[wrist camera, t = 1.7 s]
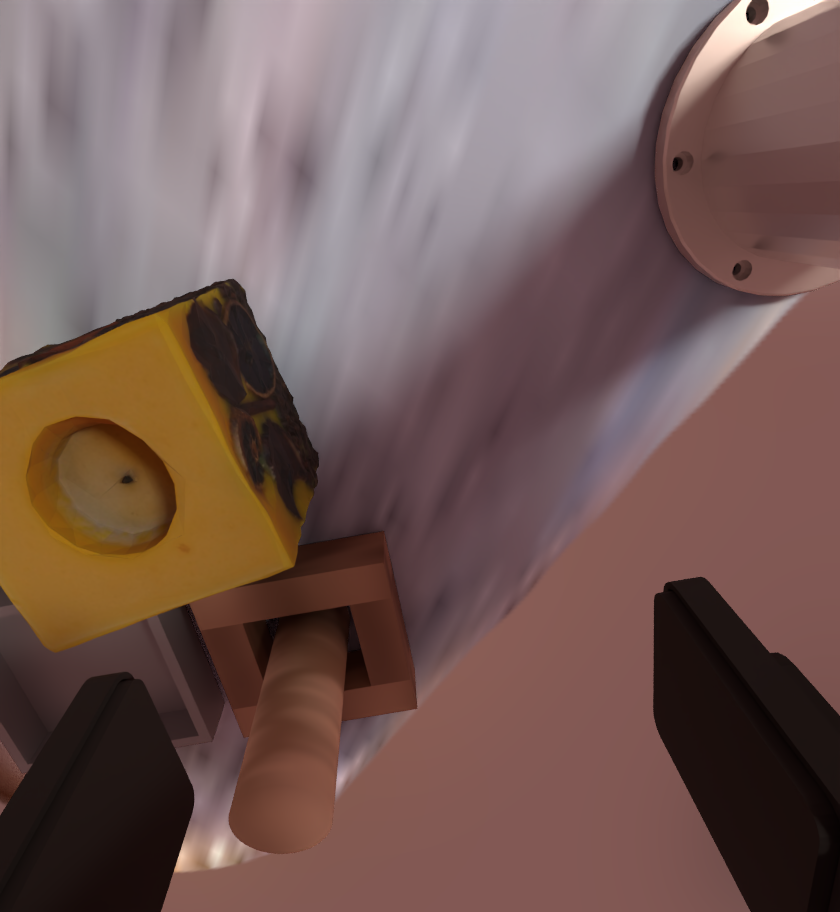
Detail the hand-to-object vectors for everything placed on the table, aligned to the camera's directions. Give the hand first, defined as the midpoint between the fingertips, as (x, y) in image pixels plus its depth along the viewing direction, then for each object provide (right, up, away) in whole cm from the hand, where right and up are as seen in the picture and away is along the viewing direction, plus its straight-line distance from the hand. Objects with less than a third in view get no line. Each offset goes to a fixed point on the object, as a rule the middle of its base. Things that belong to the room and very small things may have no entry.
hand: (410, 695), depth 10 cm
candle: (-11, +6, +19) cm, 23 cm away
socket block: (-6, -5, +24) cm, 25 cm away
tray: (-18, -7, +24) cm, 31 cm away
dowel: (-6, -5, +24) cm, 25 cm away
